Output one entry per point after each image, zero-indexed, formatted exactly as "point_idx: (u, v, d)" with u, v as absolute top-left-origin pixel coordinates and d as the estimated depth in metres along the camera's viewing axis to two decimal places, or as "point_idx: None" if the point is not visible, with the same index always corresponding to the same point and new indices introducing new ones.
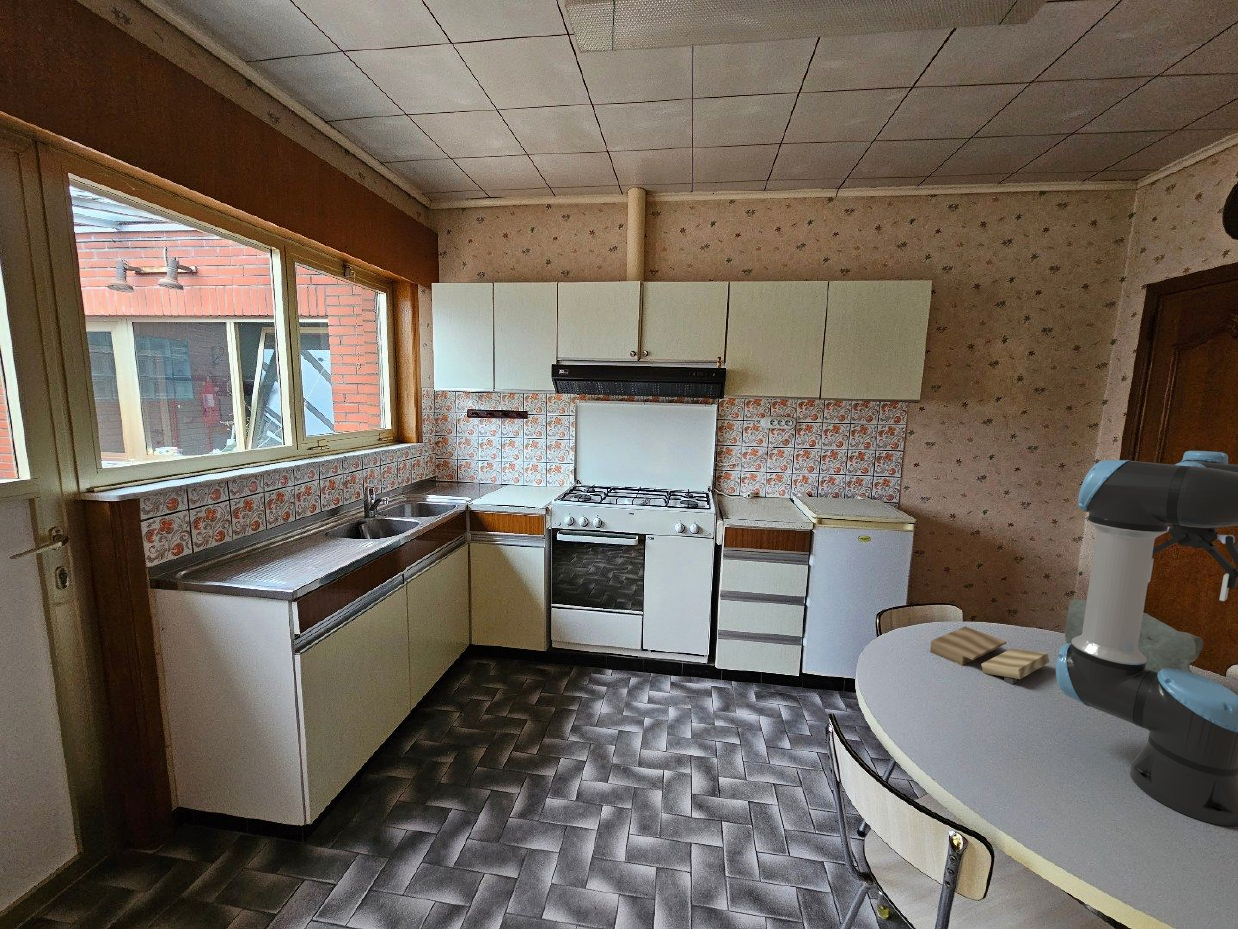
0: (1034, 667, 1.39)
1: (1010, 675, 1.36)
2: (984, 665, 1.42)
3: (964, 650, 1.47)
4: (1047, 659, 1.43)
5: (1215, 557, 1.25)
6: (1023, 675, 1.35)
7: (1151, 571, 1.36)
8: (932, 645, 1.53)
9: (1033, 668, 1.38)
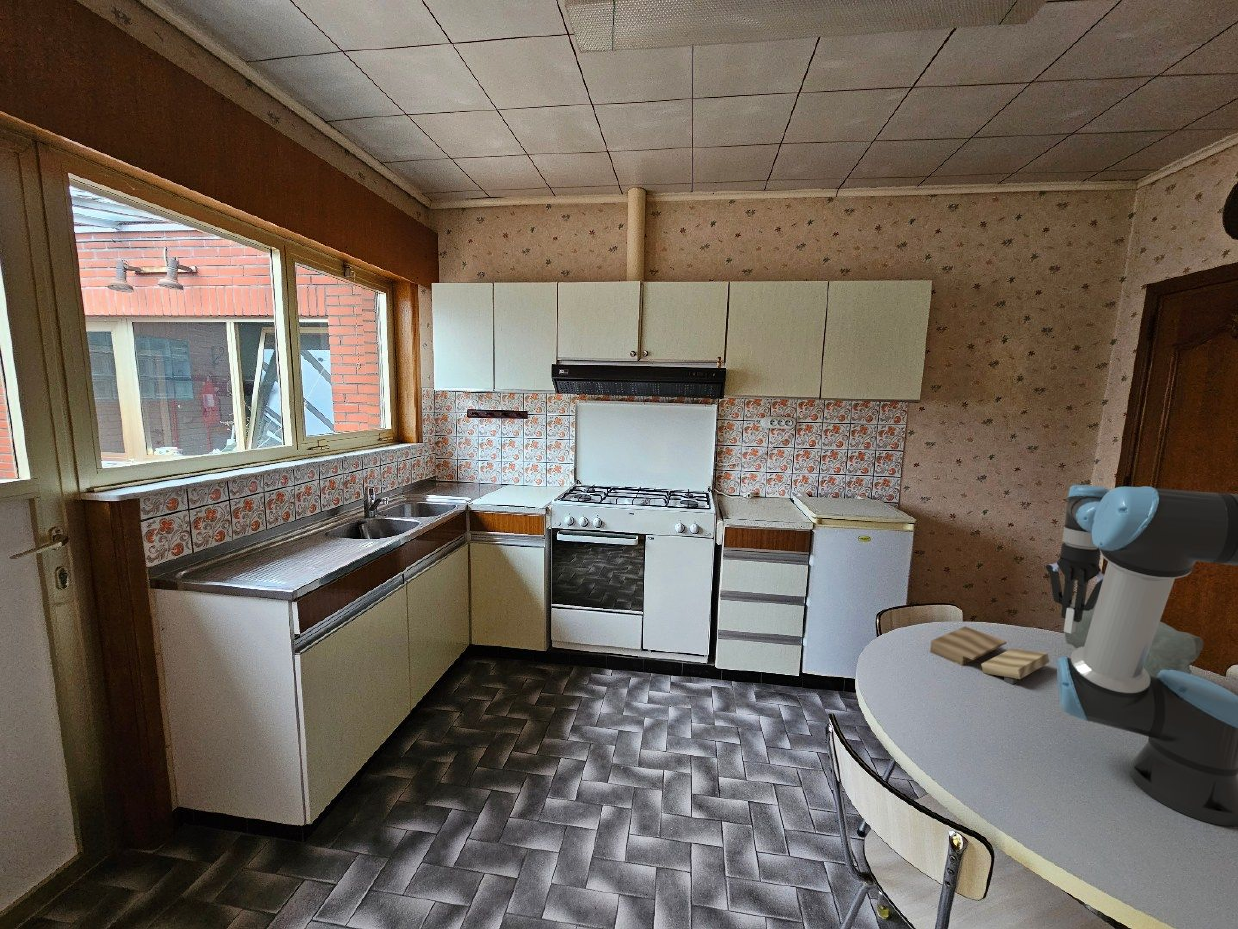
0: (1034, 667, 1.39)
1: (1010, 675, 1.36)
2: (984, 665, 1.42)
3: (964, 650, 1.47)
4: (1047, 659, 1.43)
5: (1078, 591, 1.29)
6: (1023, 675, 1.35)
7: None
8: (932, 645, 1.53)
9: (1033, 668, 1.38)
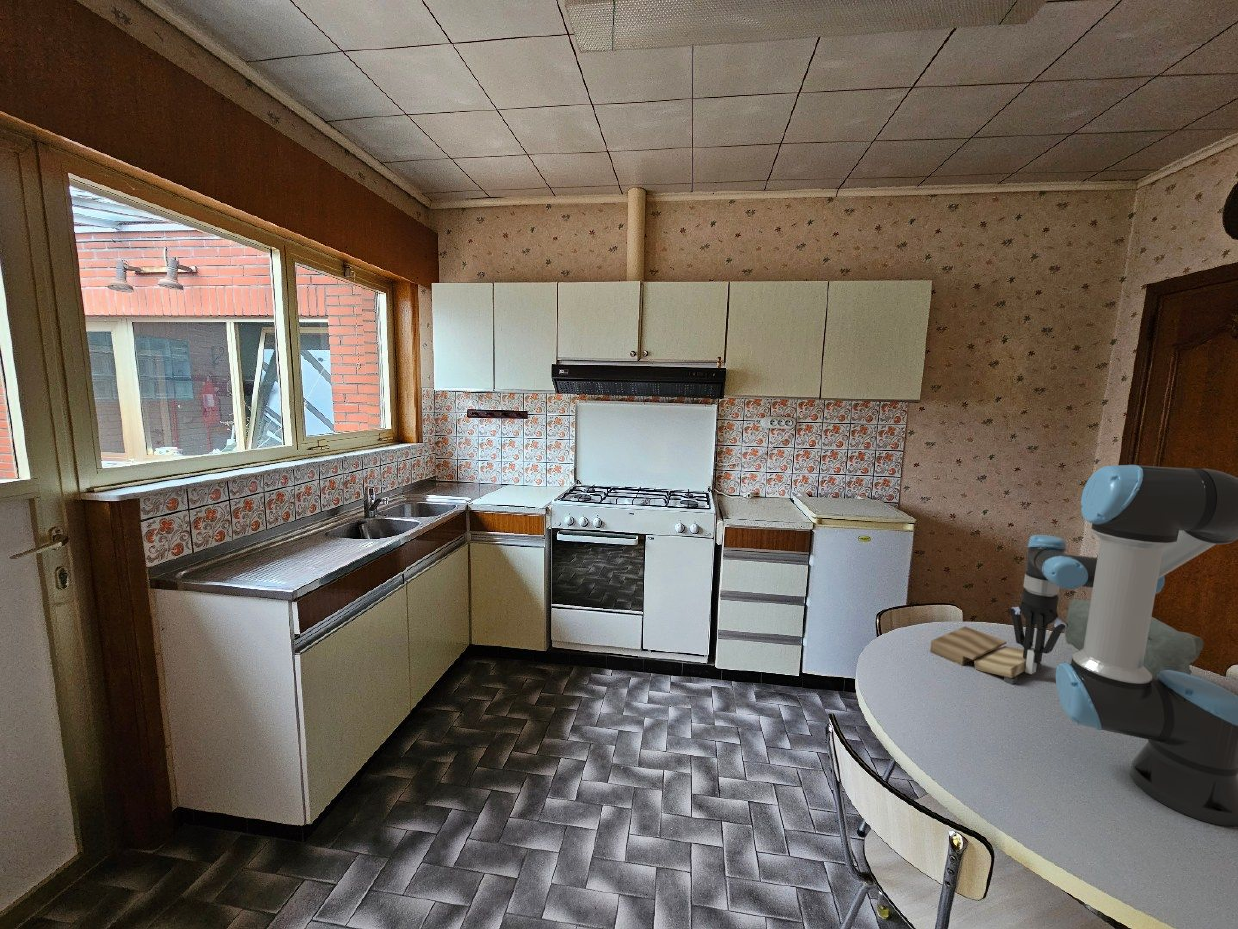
0: None
1: (1002, 673, 1.38)
2: (977, 662, 1.43)
3: (964, 650, 1.47)
4: None
5: (1038, 634, 1.37)
6: (1015, 674, 1.37)
7: None
8: (932, 645, 1.53)
9: (1025, 667, 1.40)
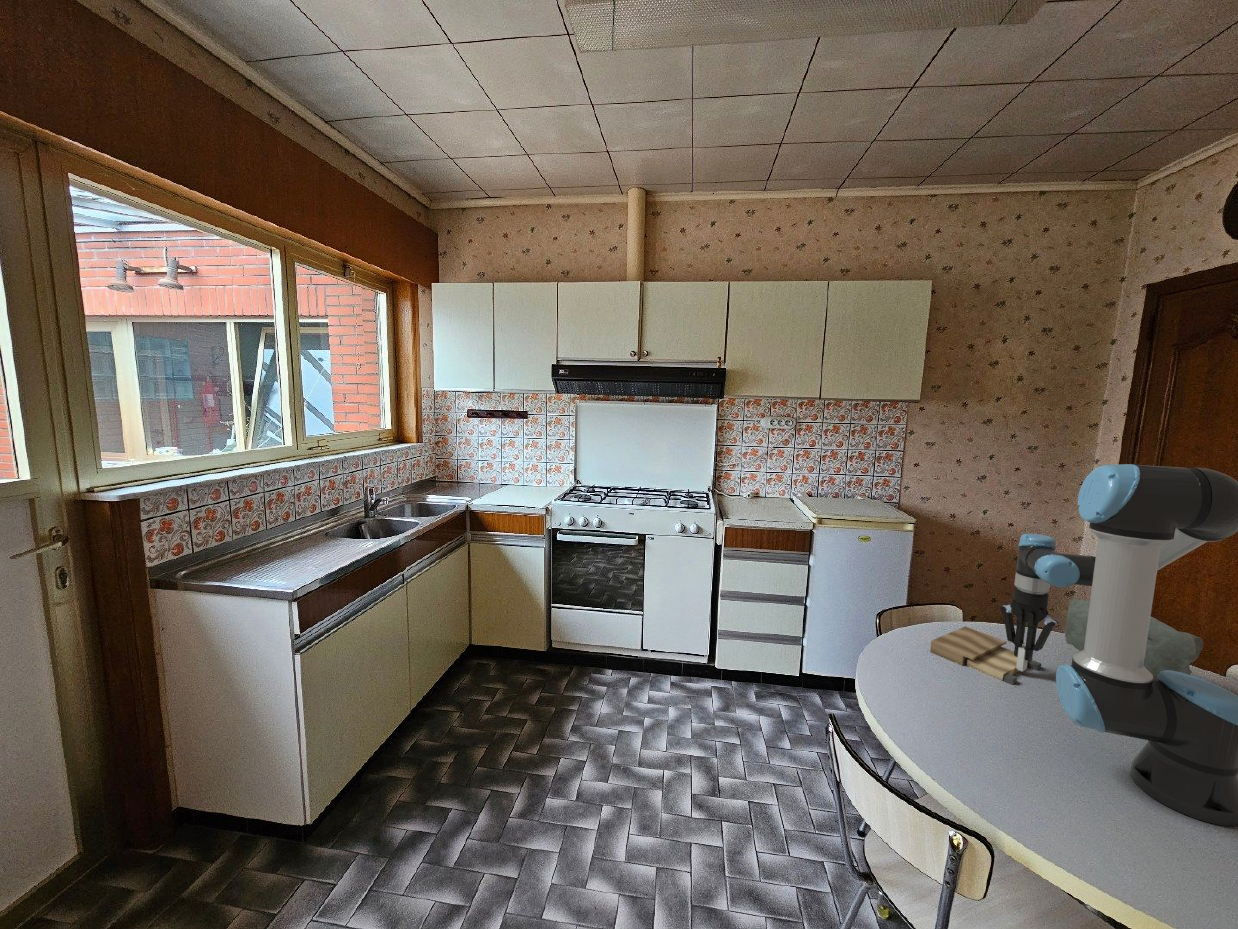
0: (1017, 671, 1.42)
1: None
2: (970, 661, 1.45)
3: (964, 650, 1.47)
4: None
5: (1028, 632, 1.39)
6: None
7: None
8: (932, 645, 1.53)
9: (1016, 672, 1.42)
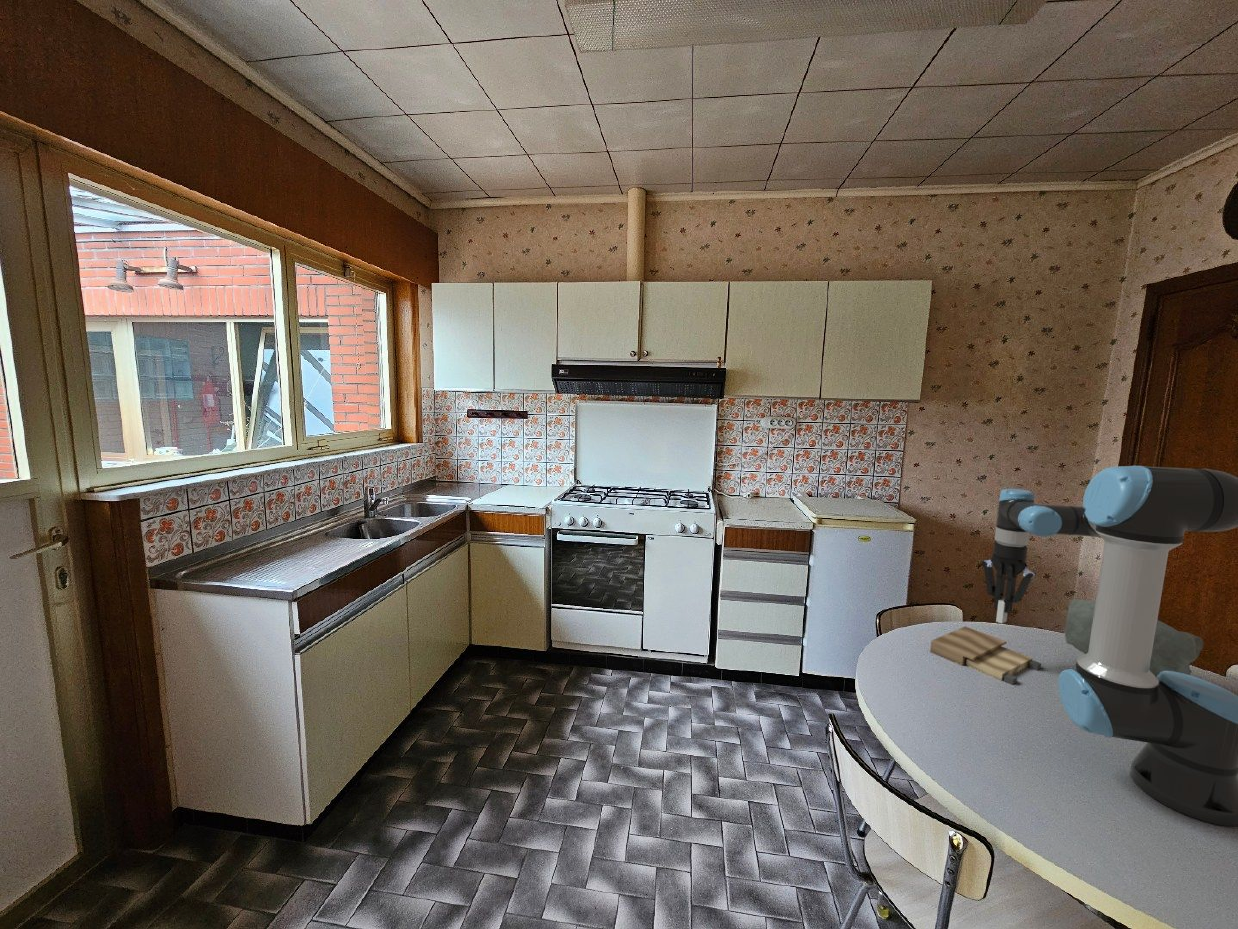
0: (1016, 671, 1.42)
1: None
2: (969, 661, 1.45)
3: (964, 650, 1.47)
4: None
5: (1008, 585, 1.42)
6: None
7: None
8: (932, 645, 1.53)
9: (1015, 672, 1.42)
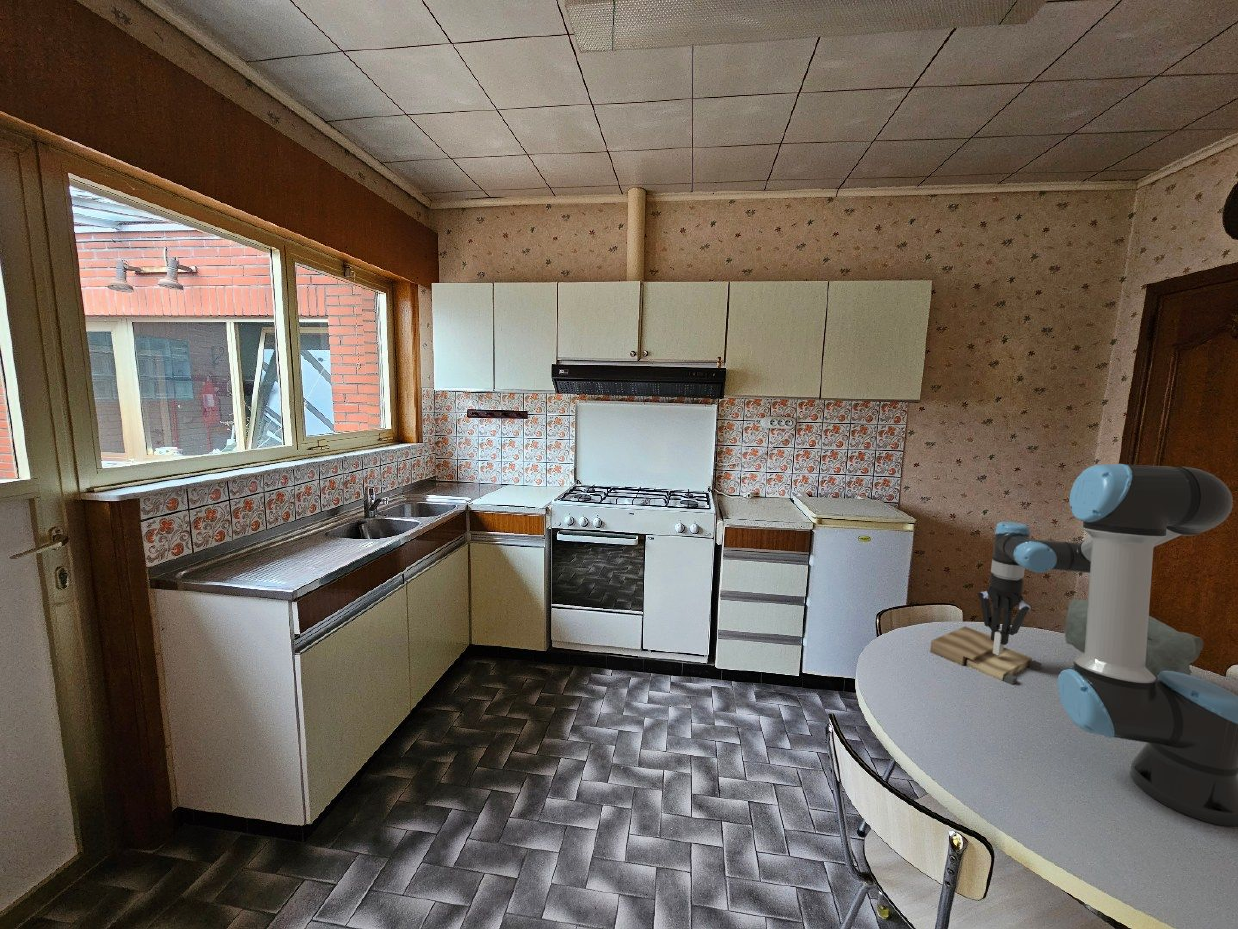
0: (1017, 671, 1.42)
1: None
2: (969, 661, 1.45)
3: (964, 650, 1.47)
4: None
5: (1004, 617, 1.43)
6: None
7: None
8: (932, 645, 1.53)
9: (1016, 672, 1.42)
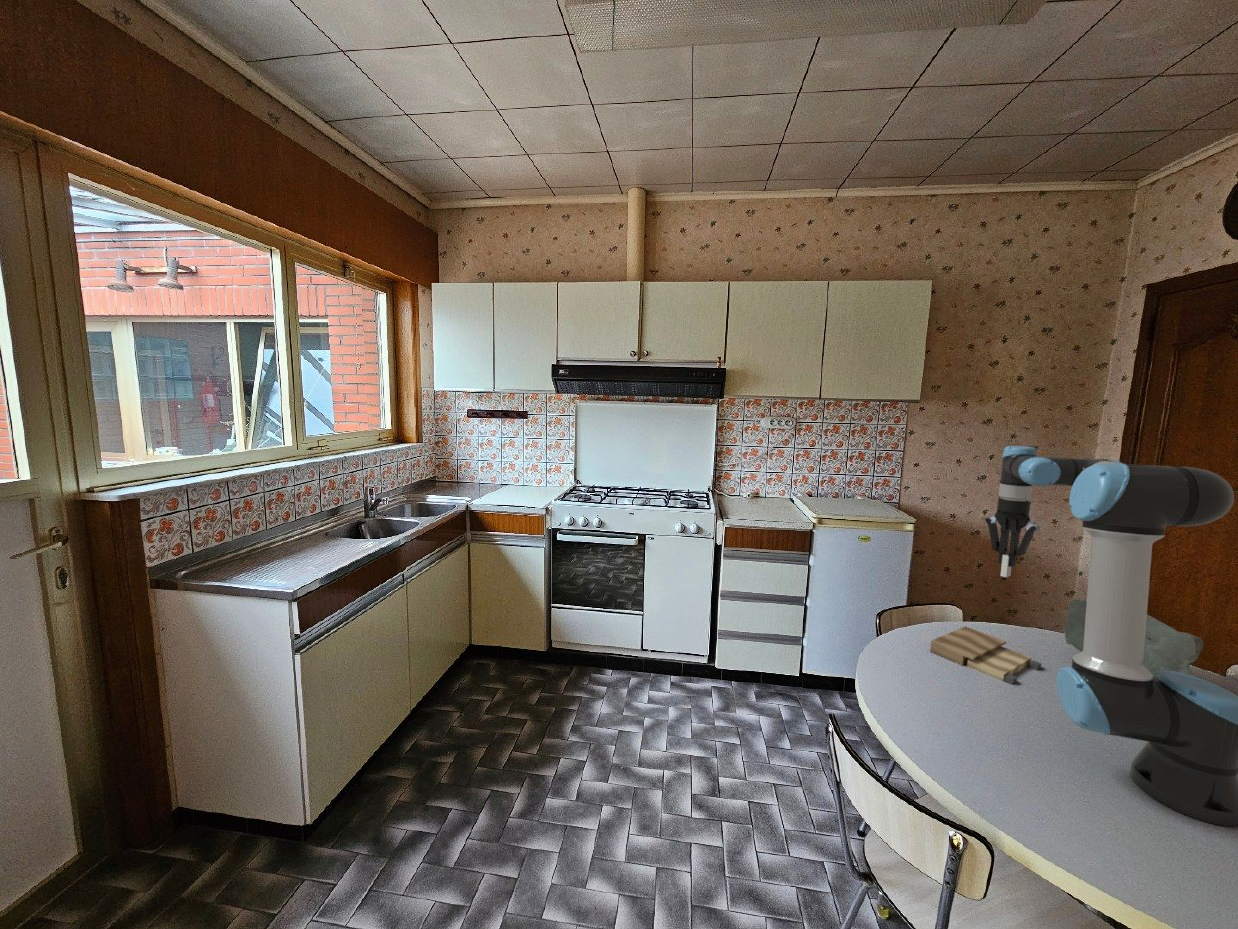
0: (1017, 671, 1.42)
1: None
2: (970, 662, 1.45)
3: (964, 650, 1.47)
4: None
5: (1012, 539, 1.47)
6: None
7: None
8: (932, 645, 1.53)
9: (1016, 672, 1.42)
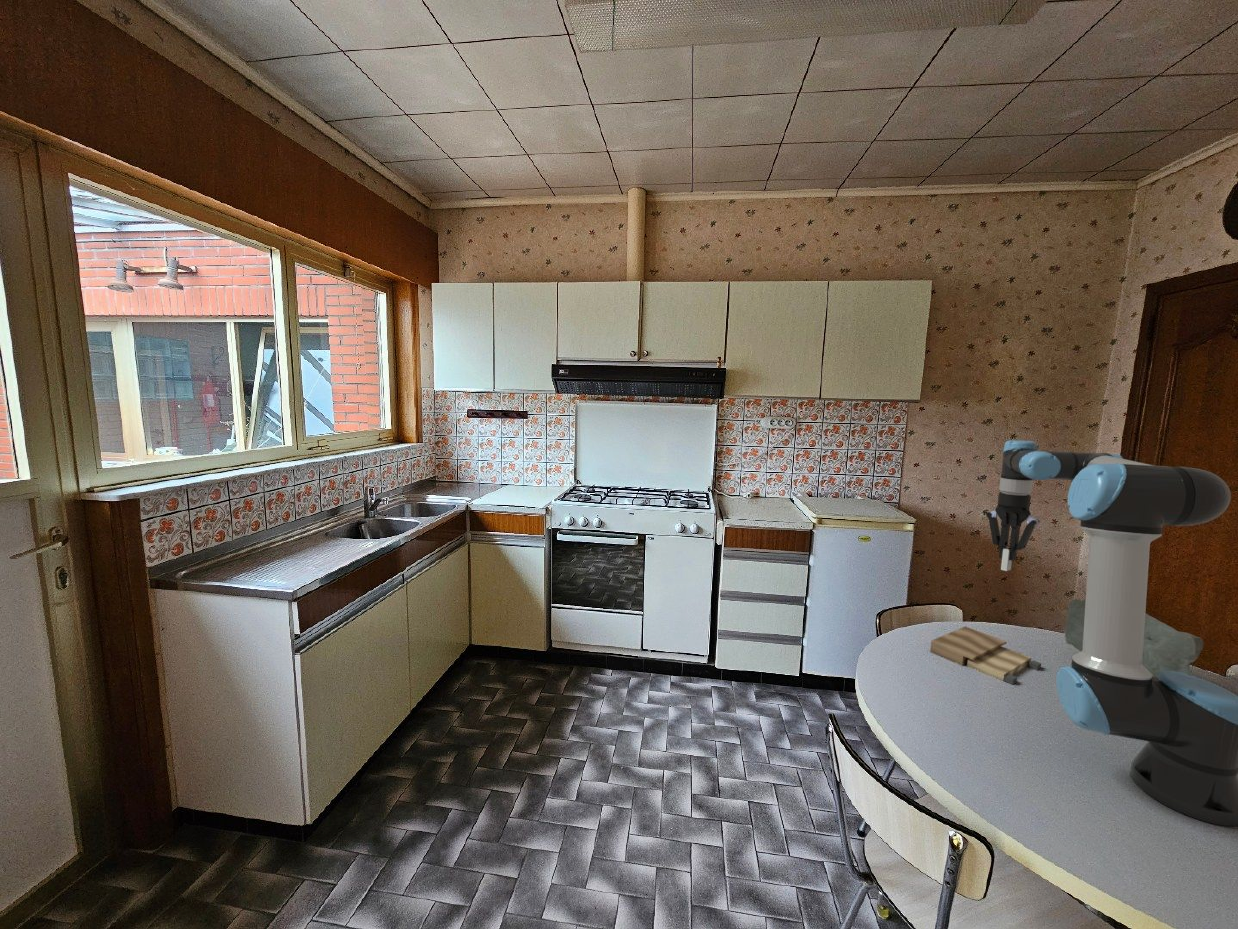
0: (1017, 671, 1.42)
1: None
2: (970, 662, 1.45)
3: (964, 650, 1.47)
4: None
5: (1012, 533, 1.47)
6: None
7: None
8: (932, 645, 1.53)
9: (1016, 672, 1.42)
